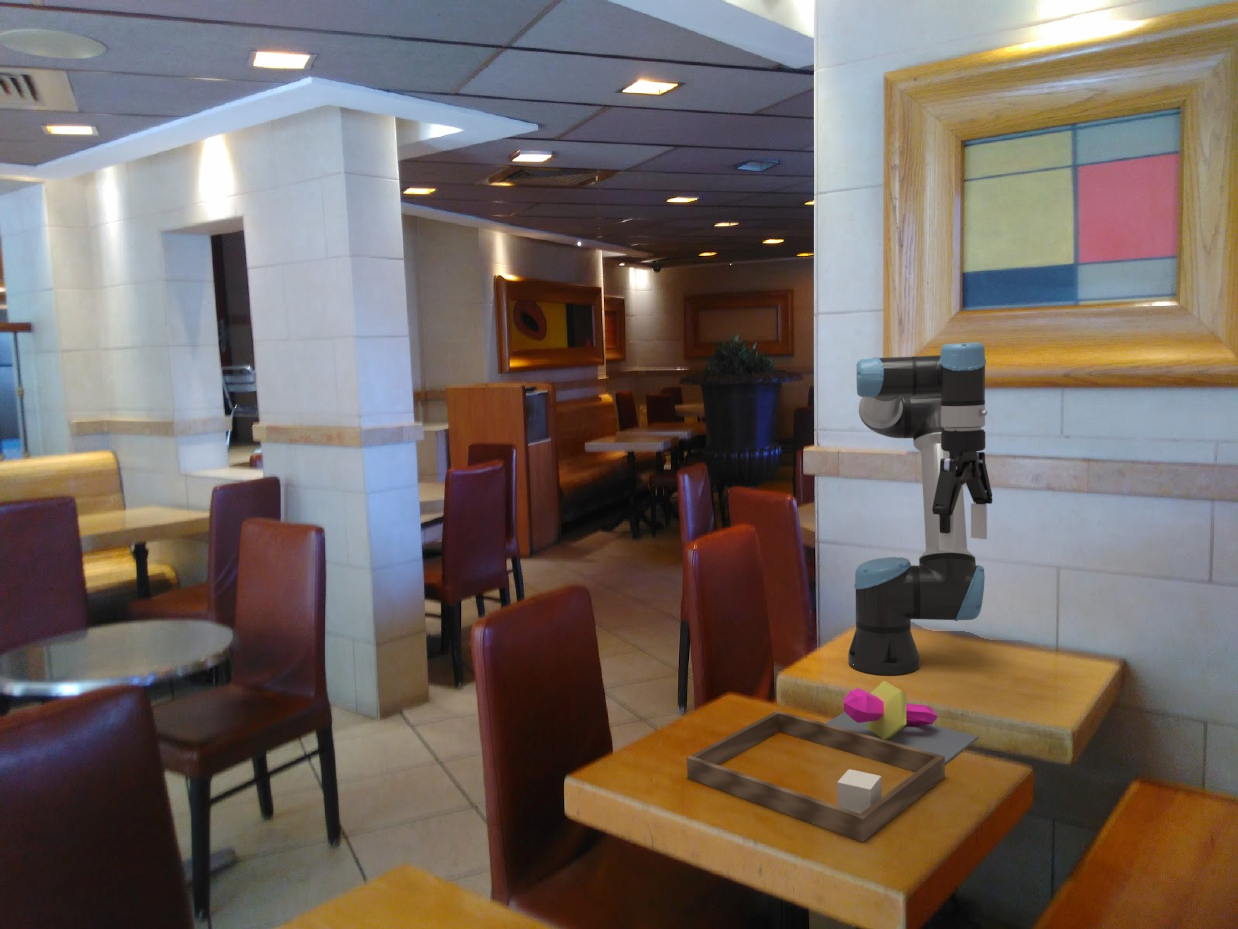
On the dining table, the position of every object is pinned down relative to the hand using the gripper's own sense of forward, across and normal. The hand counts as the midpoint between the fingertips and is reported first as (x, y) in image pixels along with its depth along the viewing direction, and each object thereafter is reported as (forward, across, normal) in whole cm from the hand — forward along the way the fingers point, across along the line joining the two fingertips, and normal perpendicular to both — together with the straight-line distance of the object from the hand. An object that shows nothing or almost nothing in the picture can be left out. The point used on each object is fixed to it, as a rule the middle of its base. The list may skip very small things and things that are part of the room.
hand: (963, 544), depth 165 cm
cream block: (+33, -44, -3) cm, 55 cm away
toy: (+32, -16, +7) cm, 37 cm away
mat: (+33, -17, +6) cm, 37 cm away
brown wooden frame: (+33, -39, +8) cm, 52 cm away
